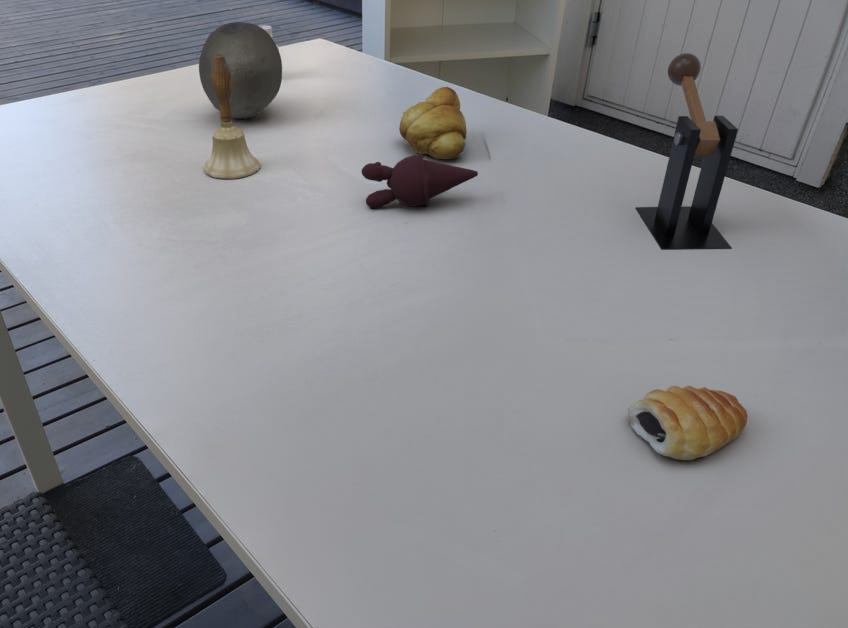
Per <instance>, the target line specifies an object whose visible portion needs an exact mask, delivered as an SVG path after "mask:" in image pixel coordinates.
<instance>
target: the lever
mask: <svg viewBox="0 0 848 628" xmlns="http://www.w3.org/2000/svg"><path fill="white" fill-rule="evenodd" d="M701 69H702V65H701V61H700V58H698V56H696V55H695V54H693V53H691V52H690V53H689V52H684V53H679V54H678V55H676V56H675V57H674V58H672V60H671V61H670V62H669V65H668V67H667V76H668V79H669V80H670V82H671V83H673V84H674V85H676V86H681V87H682V91H683V95H684V99H685V102H686V106H687V109H688V110H687V111H688V113H689V116H690V117H689V118H690V119H691V120H692V121H693V122H694V123H695V124H696V125H697V126H698V127H699V128H700V130H701V131H700V135H699V139H698V143H697V147H696V151H695V155H694V156H704V155H713V153H714V151H715V149H716V147H717V145H718V143H719V142H720V137H719V133H718V130H717V126H716V123H715V121H713V120H711V121H709V120H708V121H707V119H706V116H705V112H704V109H703V106H702V102H701V99H700V95H699V92H698V88H697V85H696V82H695V81H696V80H697V79H698V77H699V76H700V74H701Z"/></svg>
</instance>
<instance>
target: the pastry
mask: <svg viewBox="0 0 848 628" xmlns="http://www.w3.org/2000/svg"><path fill="white" fill-rule="evenodd" d="M627 417H628V419H629V422H630V423H629V425H630V427H631V428H632V430H633V431H634V432H635V433H636V434H637V435H638V436H639V437H640V438H642V439H643V440H645V442H647V443H648V444H650V446H651V447H652V449H653V450H654V451H655V452H656V453H658V454H659V455H661V456H664V457H667V458H671V459H673V460H677V461H678V460H679V461H693V460H695V459H698V458H701V457H703V458H705V457H707V456H709V455H711V454H713V453H715V452H716V451H719V450H721V448H723V447H724V446H727V445H728V444H730V443H731V442H732V441H734V440H735V439H736V438H738V437H739V436H740V435H741V433H743V430H744V429H745V427H746V426H747V423H748V413H747V409H746V408H745V407H744V406H743V405H742V404H741V403H740V402H739V400H738V398H737V397H736V396H735V395H733V394H730V393H728V392H726V391H723V390H717V389H708V388H707V387H705V386H704V387H700V388H696V387H693V386H692V385H686V386H684V387H683V388H682V387H681V386H678V385H671V386H669V387H668V388H667V389H666V390H662V389H659V388H656V389H654V390H651V391H649V392H647V394H646V395H645V396H644V397H643V398H642V399H638V401H636V402H635V403H634V404H633V405H629V407H628V408H627Z"/></svg>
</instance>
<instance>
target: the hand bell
mask: <svg viewBox="0 0 848 628" xmlns="http://www.w3.org/2000/svg"><path fill="white" fill-rule="evenodd" d="M212 80H213V86H214V90H215V93H216V95H217V98H218V101H219V106H220V111H219V116H220V118H219V119H220V127H219V128H217V129H215V130H214V131H213V133H212V148H211V155H210V157H209V159H208V160H207V161H206V162H205V164H204V167H203V171H204V173H205V174H206V175H207V176H210V177H212V178H216V179H223V180H224V179H225V180H228V179H230V180H232V179H241V178H245V177H248V176H251V175H254V174H256V173H257V172H258V171H259V170H260V169H261V166H262V165H261V162H260V161H259V159H258V158H257V157H255V156H254V155H253V154H252V153H251V151H250V149H249V146H248V144H247V141H246V137H245V133H244V131H243V130H242V129H241V128H239V127H236V126H234V121H233V120H234V118H233V117H232V112H231V105H230V97H231V91H232V81H231V74H230V70H229V68H228V65H227V63H226V61H225V58H224V55H223V54H216V55H215V56H214V64H213V69H212ZM259 168H260V169H259ZM256 171H257V172H256Z"/></svg>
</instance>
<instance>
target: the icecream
mask: <svg viewBox="0 0 848 628" xmlns="http://www.w3.org/2000/svg"><path fill="white" fill-rule="evenodd" d="M361 175H362V176H363V178H365V180H367V181H372V182H379V183H380V182H383V181H386V185H387V187H388V188H384V189H380V190H379V189H378V190H375V191H374V192H372V193H370V194H368V195H367V196H366V198H365V203H366V207H369V208H371V209H377V208H383V207H385V206H387V205H390V204H391V203H393V202H394V201H395V200H398V201H399V202H400V203H402V204H403V205H407V206H408V207H409V206H410V207H420V206H425V207H428V206H429V205H430V200H431V199H433V198H435V197H437V196H439V195H441V194H443V193H445V192H447V191H449V190H451V189H453V188H455V187H457V186H459V185H462V184H463V183H466V182H467V181H470V180H472V179H474V178H475V177H478V176H479V172H478V170H474V169H470V168H467V167H461V166H457V165H452V164H447V163H443V162H437V161H433V160H429V159H424V154H422V153H421V152H420V153H418V154H413V155H409V156H407V157H404V158H402V159H401V160H399V161H398V162H397V163H396V164H395V165H394V167H391V166H388V165H384V164H382V163H381V162H380V161H375V162H374V163H372V162H369V163H367V164H365V165H364V166H363V167H362V168H361Z"/></svg>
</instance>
